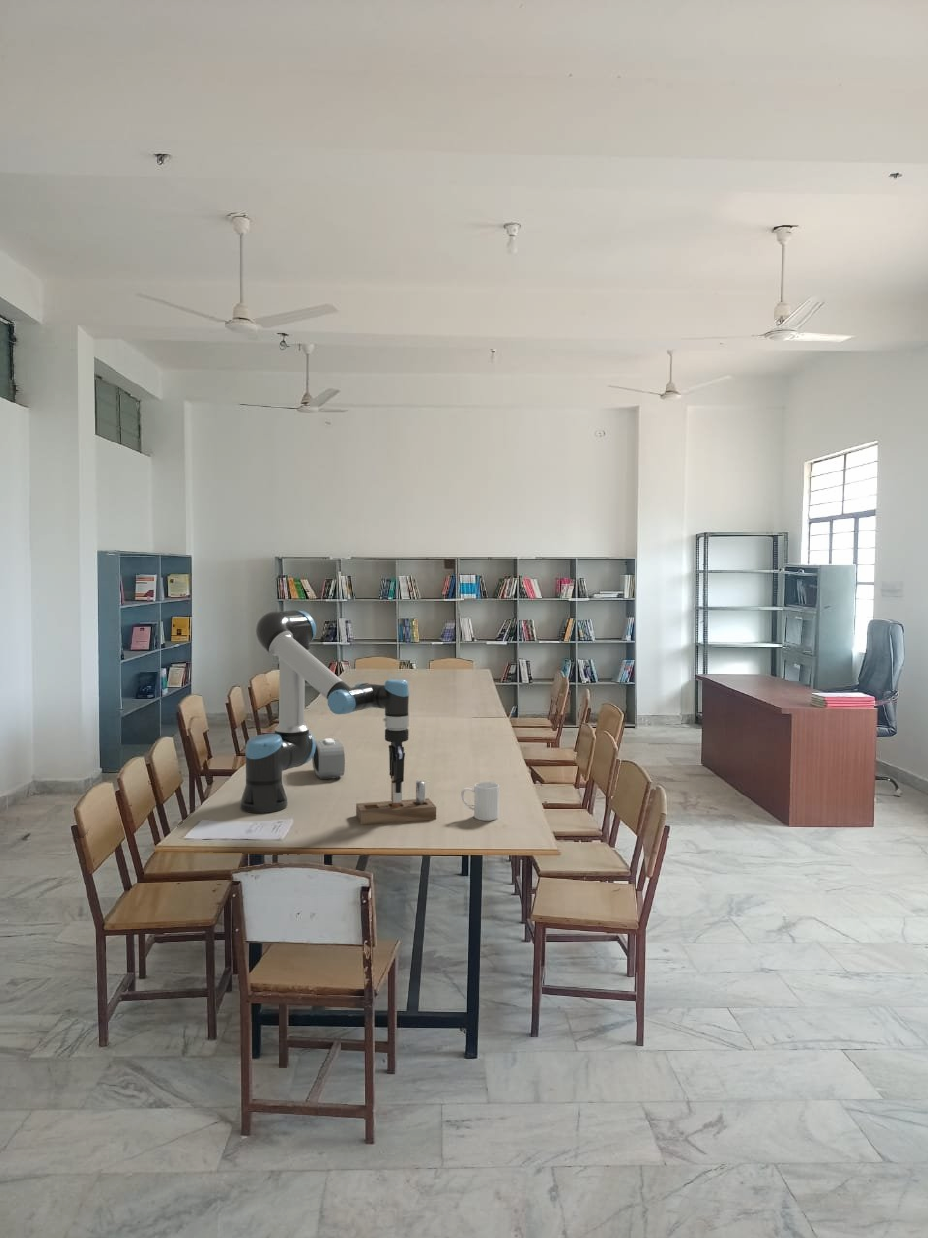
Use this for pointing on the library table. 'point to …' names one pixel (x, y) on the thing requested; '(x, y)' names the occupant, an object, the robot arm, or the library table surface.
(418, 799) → the grey peg
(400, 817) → the hole block
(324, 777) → the alarm clock
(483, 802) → the mug
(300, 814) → the library table surface
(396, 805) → the orange rounded rod
